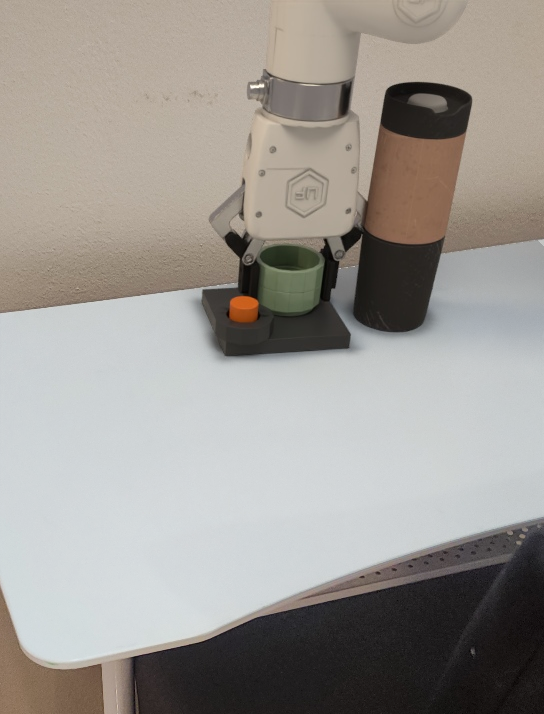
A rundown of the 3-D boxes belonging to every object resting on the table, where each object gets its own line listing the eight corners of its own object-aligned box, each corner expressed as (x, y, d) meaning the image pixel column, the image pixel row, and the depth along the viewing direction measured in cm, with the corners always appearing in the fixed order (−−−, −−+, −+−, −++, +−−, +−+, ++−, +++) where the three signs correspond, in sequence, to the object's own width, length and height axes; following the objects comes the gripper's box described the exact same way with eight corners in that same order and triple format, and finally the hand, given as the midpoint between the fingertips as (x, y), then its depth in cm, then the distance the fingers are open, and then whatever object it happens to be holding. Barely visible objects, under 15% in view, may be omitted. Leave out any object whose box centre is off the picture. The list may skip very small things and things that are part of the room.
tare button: (253, 311, 93) (255, 295, 92) (260, 323, 91) (261, 307, 90) (226, 312, 93) (227, 296, 92) (232, 325, 91) (233, 309, 90)
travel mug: (368, 291, 103) (404, 75, 89) (438, 310, 100) (486, 91, 86) (337, 319, 98) (369, 96, 84) (410, 340, 95) (456, 114, 81)
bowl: (308, 286, 100) (313, 241, 97) (327, 316, 95) (333, 270, 92) (244, 289, 99) (247, 244, 96) (260, 320, 94) (264, 274, 91)
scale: (316, 296, 102) (320, 267, 100) (351, 352, 93) (356, 321, 91) (194, 302, 100) (195, 273, 98) (218, 360, 91) (220, 330, 89)
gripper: (216, 112, 80) (205, 320, 93) (419, 107, 83) (383, 310, 96) (198, 84, 86) (190, 285, 98) (390, 80, 88) (359, 276, 101)
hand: (285, 296), depth 97 cm, fingers closed on bowl, 6 cm apart
